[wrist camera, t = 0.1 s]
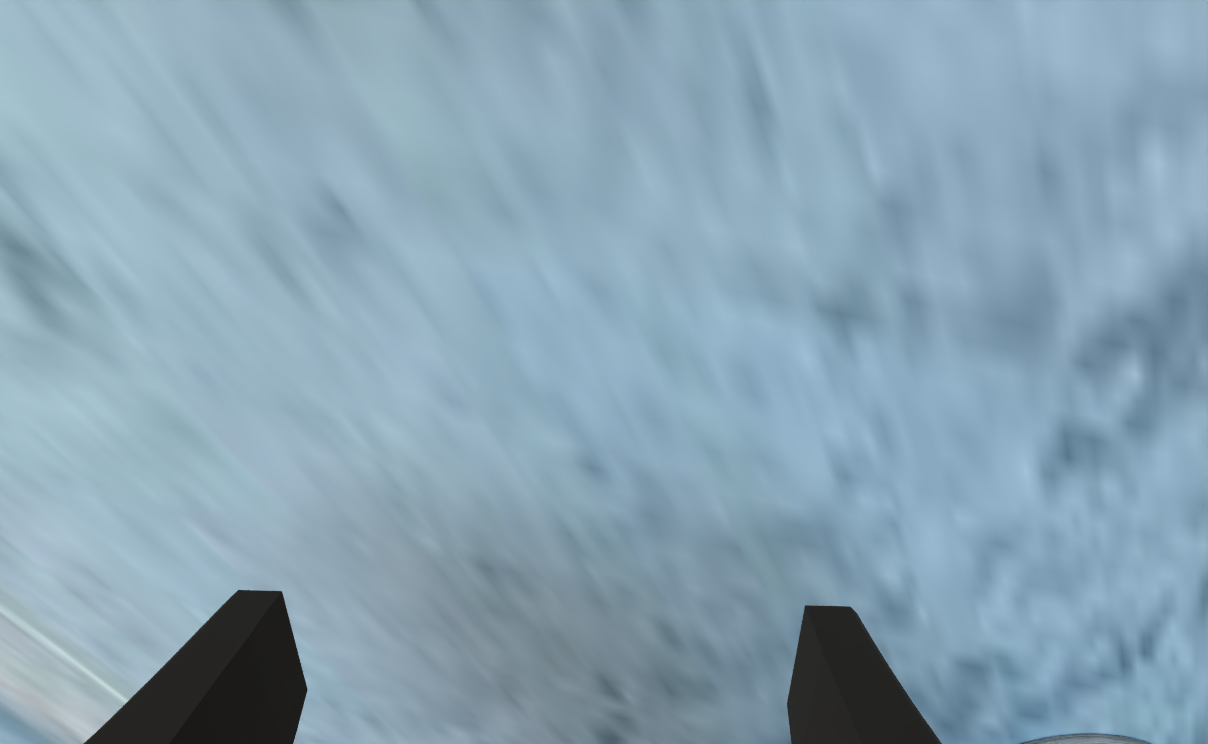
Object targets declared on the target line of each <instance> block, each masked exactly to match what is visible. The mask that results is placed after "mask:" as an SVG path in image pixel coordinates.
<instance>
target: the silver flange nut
mask: <svg viewBox="0 0 1208 744" xmlns="http://www.w3.org/2000/svg"><path fill="white" fill-rule="evenodd" d="M1023 744H1151V743H1148V742H1145V741H1141V740H1137V739H1134V738H1128V737H1123V736H1117V735H1104V734H1076V735H1064V736H1056V737H1050V738H1044V739H1039V740H1035V741H1031V742H1027V743H1023Z"/></svg>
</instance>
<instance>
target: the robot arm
mask: <svg viewBox="0 0 1208 744" xmlns="http://www.w3.org/2000/svg"><path fill="white" fill-rule="evenodd" d="M306 693H307V686H306V682H305V678H304V675H303V671H302V667H301V663H300V659H299V655H298V651H297V648H296V644H295V640H294V636H293V632H292V628H291V624H290V621H289V617H288V613H287V609H286V605H285V601H284V597H283V594H282V591H251V590H238V591H237V592H236V593H235V594H234V595H233V596H232V597H231V598H230V599H229V600H228V601H227V602H226V603H225V604H224V605H223V606H222V607H221V608H220V609H219V610H218V611H217V612H216V613H215V614H214V615H213V616H212V617H211V618H210V619H209V620H208V621H207V622H206V623H205V624H204V625H203V626H202V627H201V628H200V629H199V630H198V631H197V632H196V633H195V634H194V635H193V636H192V637H191V638H190V640H189V641H188V642H187V643H186V644H185V645H184V646H183V647H182V648H181V649H180V650H179V651H178V652H177V653H176V654H175V655H174V656H173V657H172V658H171V659H170V660H169V661H168V662H167V663H166V664H165V665H164V666H163V667H162V668H161V669H160V670H159V671H158V672H157V673H156V674H155V675H154V676H153V677H152V678H151V679H150V680H149V681H148V682H147V683H146V684H145V685H144V686H143V687H142V688H141V689H140V690H139V691H138V692H137V693H136V694H135V695H134V696H133V697H132V698H131V699H130V700H129V701H128V702H127V703H126V704H125V705H124V706H123V707H122V708H121V709H120V710H119V711H118V712H117V713H116V714H115V715H114V716H113V717H112V718H111V719H110V720H109V721H107V722H106V723H105V724H104V725H103V726H102V727H101V728H100V729H99V730H98V731H97V732H96V733H95V734H94V735H93V736H92V737H90V738H89V739H88V740H87V741H86V742H85V743H84V744H293V742H294V739H295V735H296V732H297V728H298V724H299V720H300V716H301V712H302V709H303V705H304V701H305V697H306ZM787 707H788V716H789V725H790V734H791V743H792V744H942V743H941V742H940V741H939V739H938V738H937V736H936V735H935V734H934V732H933V731H932V729H931V728H930V727H929V725H928V724H927V722H926V721H925V720H924V718H923V717H922V715H921V714H920V712H919V711H918V709H917V708H916V707H915V705H914V704H913V702H912V701H911V699H910V698H909V696H908V695H907V693H906V692H905V690H904V689H903V687H902V686H901V684H900V682H899V681H898V679H897V678H896V676H895V675H894V673H893V672H892V670H891V669H890V667H889V665H888V664H887V662H886V661H885V659H884V658H883V656H882V654H881V653H880V651H879V650H878V648H877V646H876V645H875V643H874V641H873V640H872V638H871V636H870V635H869V633H868V631H867V630H866V628H865V626H864V625H863V623H862V621H861V620H860V618H859V616H858V615H857V613H856V612H855V611H854V610H853V609H852V608H851V607H843V606H806V605H805V609H804V615H803V620H802V626H801V631H800V636H799V642H798V647H797V653H796V658H795V664H794V669H793V675H792V680H791V685H790V691H789V696H788V702H787Z"/></svg>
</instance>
